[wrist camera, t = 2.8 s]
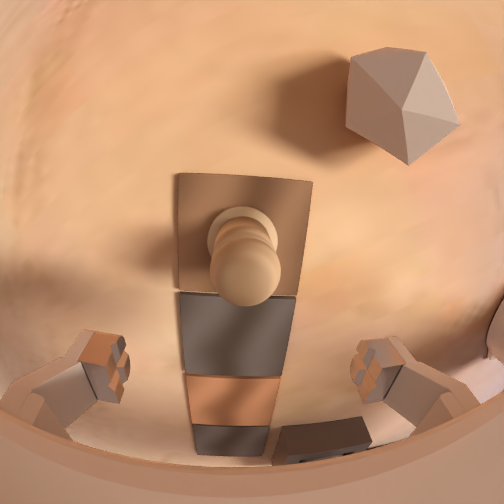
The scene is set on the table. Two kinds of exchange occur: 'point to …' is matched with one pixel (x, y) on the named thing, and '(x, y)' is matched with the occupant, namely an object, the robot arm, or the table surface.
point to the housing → (321, 440)
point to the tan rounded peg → (243, 256)
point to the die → (398, 102)
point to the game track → (236, 312)
